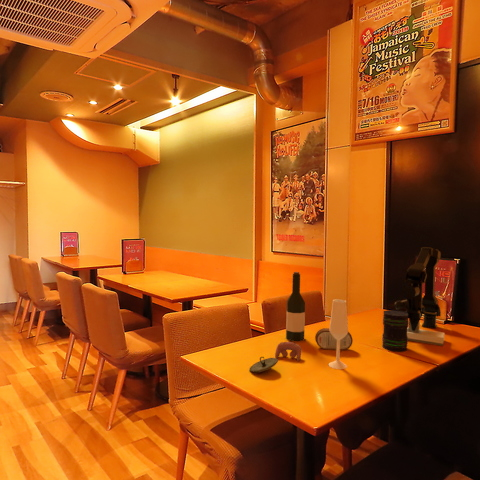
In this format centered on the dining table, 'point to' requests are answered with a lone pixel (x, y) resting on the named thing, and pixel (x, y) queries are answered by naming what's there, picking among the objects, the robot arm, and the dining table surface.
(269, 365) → the lid
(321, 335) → the tin
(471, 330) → the dining table surface
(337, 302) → the champagne flute
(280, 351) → the video game controller
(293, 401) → the dining table surface
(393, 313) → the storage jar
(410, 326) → the plug
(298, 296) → the wine bottle
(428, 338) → the cream socket panel
